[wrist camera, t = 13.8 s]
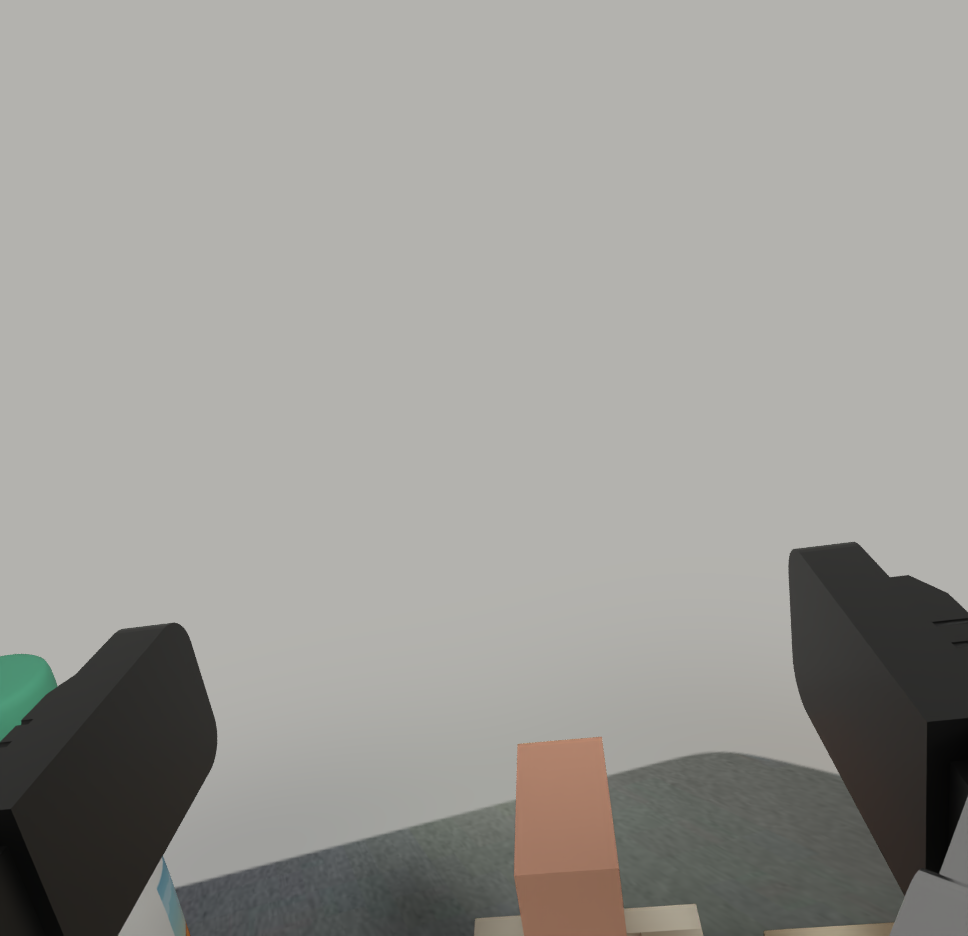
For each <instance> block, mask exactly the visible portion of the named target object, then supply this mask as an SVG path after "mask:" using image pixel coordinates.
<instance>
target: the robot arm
mask: <svg viewBox="0 0 968 936" xmlns="http://www.w3.org/2000/svg"><path fill="white" fill-rule="evenodd" d="M789 588H790V589H789V590H790V611H791V631H792V651H793V664H794V672H795V678H796V682H797V686H798V690H799V694H800V697H801V700H802V703H803V705H804V708H805V710H806V712H807V714H808V716H809V718H810V719H811V721H812V723H813V725H814V727H815V729H816V731H817V733H818V734H819V736H820V738H821V740H822V742H823V744H824V746H825V747H826V749H827V751H828V753H829V755H830V757H831V759H832V761H833V763H834V764H835V766H836V768H837V770H838V772H839V774H840V776H841V778H842V780H843V781H844V783H845V785H846V787H847V789H848V791H849V793H850V795H851V796H852V798H853V800H854V802H855V804H856V806H857V808H858V809H859V811H860V813H861V815H862V817H863V819H864V821H865V823H866V824H867V826H868V828H869V830H870V832H871V834H872V836H873V838H874V839H875V841H876V843H877V845H878V847H879V849H880V851H881V853H882V854H883V856H884V858H885V860H886V862H887V864H888V866H889V868H890V869H891V871H892V873H893V875H894V877H895V879H896V881H897V883H898V884H899V886H900V888H901V890H902V892H903V894H904V896H905V897H904V900H903V902H902V905H901V907H900V910H899V912H898V915H897V917H896V920H895V922H894V925H893V927H892V930H891V932H890V935H889V936H968V612H967V611H966V610H965V609H964V608H963V607H962V606H961V605H960V604H959V603H957V602H956V601H955V600H954V599H953V598H952V597H951V596H950V595H949V594H948V593H946V592H944V591H942V590H940V589H937V588H935V587H933V586H931V585H929V584H927V583H924V582H922V581H920V580H918V579H916V578H914V577H911V576H909V575H907V576H898V577H889V576H888V575H887V574H886V573H885V572H884V571H883V570H882V568H880V566H879V565H878V564H877V563H876V562H875V561H874V560H873V559H872V558H871V557H870V556H869V555H868V554H867V553H866V552H865V550H864V549H863V548H862V547H861V546H860V545H859V544H858V543H856V542H849V543H840V544H832V545H824V546H816V547H807V548H799V549H793V550H792V551H791V553H790V556H789ZM216 749H217V728H216V722H215V718H214V715H213V712H212V708H211V705H210V702H209V699H208V695H207V692H206V689H205V686H204V683H203V680H202V676H201V673H200V670H199V666H198V663H197V660H196V657H195V654H194V650H193V647H192V644H191V641H190V638H189V636H188V634H187V632H186V630H185V629H184V628H183V627H182V626H181V625H180V624H178V623H168V624H160V625H151V626H143V627H136V628H127V629H121V630H119V631H118V632H116V633H115V634H114V635H113V636H112V637H111V638H110V639H109V640H108V641H107V642H106V643H105V644H104V645H103V646H102V647H101V648H100V649H99V650H98V652H97V653H96V654H95V655H94V656H93V657H92V658H91V659H90V660H89V661H88V662H87V663H86V664H85V665H84V666H83V667H82V668H81V669H80V671H78V673H77V674H76V675H74V676H73V677H71V678H70V679H68V680H67V681H66V682H64V683H62V684H61V685H59V686H58V687H56V688H55V689H53V690H52V691H50V692H49V693H47V694H46V695H45V696H44V697H43V698H42V699H41V700H40V701H39V702H38V703H37V704H36V705H35V706H34V708H33V709H32V710H31V711H30V712H29V713H28V714H27V715H26V716H25V717H24V718H23V719H22V720H21V725H17V726H15V727H14V728H13V729H12V730H11V731H10V732H9V733H8V734H7V735H6V736H5V737H4V738H3V739H2V740H1V741H0V936H118V935H119V933H120V931H121V929H122V928H123V926H124V924H125V922H126V920H127V919H128V917H129V915H130V913H131V912H132V910H133V908H134V906H135V904H136V903H137V901H138V899H139V897H140V895H141V894H142V892H143V890H144V888H145V886H146V885H147V883H148V881H149V879H150V877H151V876H152V874H153V872H154V870H155V869H156V867H157V865H158V863H159V861H160V860H161V858H162V856H163V854H164V852H165V851H166V849H167V847H168V845H169V843H170V841H171V840H172V838H173V836H174V835H175V833H176V831H177V829H178V827H179V826H180V824H181V822H182V820H183V818H184V817H185V815H186V813H187V811H188V809H189V808H190V806H191V804H192V802H193V801H194V799H195V797H196V795H197V793H198V792H199V790H200V788H201V786H202V784H203V783H204V781H205V779H206V777H207V775H208V774H209V772H210V770H211V768H212V766H213V763H214V759H215V755H216Z"/></svg>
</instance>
